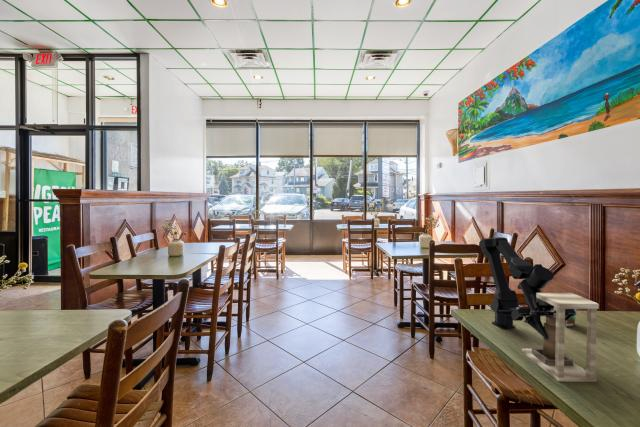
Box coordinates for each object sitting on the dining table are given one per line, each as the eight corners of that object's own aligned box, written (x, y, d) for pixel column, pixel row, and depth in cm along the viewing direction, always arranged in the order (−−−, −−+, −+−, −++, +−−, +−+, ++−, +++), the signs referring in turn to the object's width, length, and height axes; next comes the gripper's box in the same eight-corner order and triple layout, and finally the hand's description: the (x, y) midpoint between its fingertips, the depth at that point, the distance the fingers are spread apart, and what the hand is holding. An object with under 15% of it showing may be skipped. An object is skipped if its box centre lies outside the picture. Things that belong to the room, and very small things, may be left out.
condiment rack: (521, 351, 109) (522, 286, 108) (553, 351, 109) (554, 286, 107) (558, 381, 91) (559, 303, 90) (596, 381, 91) (598, 303, 90)
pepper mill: (541, 351, 105) (542, 314, 104) (557, 354, 103) (558, 316, 102) (544, 358, 101) (545, 319, 100) (561, 360, 99) (562, 321, 98)
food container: (585, 329, 125) (585, 305, 125) (568, 328, 127) (568, 305, 126) (567, 318, 137) (567, 296, 137) (552, 317, 139) (552, 295, 138)
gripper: (516, 284, 105) (536, 329, 95) (573, 283, 104) (600, 329, 94) (503, 298, 113) (521, 342, 103) (556, 298, 112) (579, 342, 102)
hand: (554, 338), depth 100 cm, fingers closed on pepper mill, 4 cm apart
